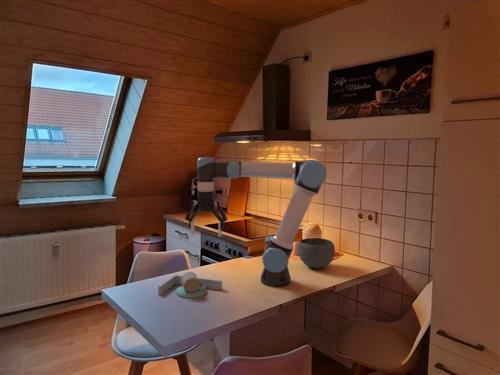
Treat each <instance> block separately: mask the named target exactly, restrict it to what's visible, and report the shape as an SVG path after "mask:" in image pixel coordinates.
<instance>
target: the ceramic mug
mask: <svg viewBox="0 0 500 375" xmlns="http://www.w3.org/2000/svg"><path fill="white" fill-rule="evenodd" d="M181 276H182V277H181V284H180V285H182V286H183V287H184V289H185V290H186V291H187V292H189V293H193V292H195V291H197V290H198V289H199V290H204V289H205V285H204V284H202V283H200V282H199V280H198V278H199V277H197V274H196V273H195V272H193V271H187V272H185V273H183V275H181Z"/></svg>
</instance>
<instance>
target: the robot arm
mask: <svg viewBox="0 0 500 375" xmlns="http://www.w3.org/2000/svg"><path fill="white" fill-rule="evenodd" d="M196 172H197V173H196V174H197V200H195V199H194V200H191V202H190V207H189V208H188V210H187V214H186V215H185V217H184V219H185V221H188V229H190V235H191V236H194V235H195V220H194V219H195V218H196V216H198V214H199V213H200V211H202V212H203V211H206V212H209V211H210V212H211V213H212V214H213V215H214V217H215V218H216V219H217V220H218V221H219V222H218V225H217V226H218V229H217V230H218V232H217V233H218V238H221V237H222V236H223V234H222V233H223V232H222V231H223V230H224V229H225V227H224V223H225V222H227V221H228V217H227V215H226V213H225V211H224V209H223V207H222V203H221V200H218V201H215V192H214V190H215V188H214V186H215V183H214V179H238V178H240V177H241V178H243V177H244V178H267V179H286V180H287V179H291V180H293V182H294V183H293V185H294V187H295V189H294V191H293V194H292V196H291V198H290V200H289V203H288V205H287V208H286V210H285V212H284V214H283V216H282V218H281V221H280V223H279V225H278V228H277V230H276V233H275V235H269V236H266V237H265V240H264V251H263V253H262V256H261V261H262V265H263V270H262V271H261V275H260V283H261V284H263V285H265V286H268V287H276V288H277V287H278V288H279V287H286V286H288V285H290V284H291V282H292V280H291V274H290V271H289V267H288V266H289V265H288V264H289V260H290V258H291V255H292V252H293V250H294V244H293V242H294V240H295V237H296V235H297V233H298V232H299V229H300V226H301V224H302V222H303V219H304V217H305V215H306V212H307V211H308V208H309V206H310V203H311V202H312V200H313V197H315V196H317V195H318V194H319V192H320V190H321V188H322V185H324V183H325V182H326V180H327V176H328V174H327V168H326V166H325V165H324V164H323V163H322V162H321V161H319V160H316V159H308V160H299V161H298V160H296V161H294V162H270V161H269V162H268V161H267V162H266V161H264V162H263V161H236V160H229V161H214V157H199V158H198V159H197V167H196ZM196 205H197V206H198V207H197V208H196V210H195V211H194V208H195V206H196ZM214 206H216V208H217V210H218V211H217V210H216V208H215V207H214ZM193 211H194V212H193ZM192 213H193V214H192Z"/></svg>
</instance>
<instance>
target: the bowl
mask: <svg viewBox="0 0 500 375" xmlns="http://www.w3.org/2000/svg"><path fill="white" fill-rule="evenodd" d="M335 252H336V248H335V244H334V242H333V241H331V240H330V239H326V238H319V237H311V238H303V239H301V240H300V241H299V242H298V246H297V254H298V256H299V258H300V260H301V261H302V263H303V264H304V265H305V266H306V267H309V268H310V269H316V270H317V269H318V270H319V269H324V268H326V267H328V266H329V265H330V264H331V263H332V261H333V260H334V258H335Z"/></svg>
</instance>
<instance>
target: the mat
mask: <svg viewBox="0 0 500 375" xmlns="http://www.w3.org/2000/svg"><path fill="white" fill-rule="evenodd" d="M206 294H207V288H205V289H204V290H199V289H198V290H197V291H195V292H193V293H189V292H187V291H186V290H185V289H184V287H183V285H182V286H179V287H178V288H176V289H175V295H176V296H178V297H180V298H185V299H196V298H200V297H203V296H204V295H206Z"/></svg>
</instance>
